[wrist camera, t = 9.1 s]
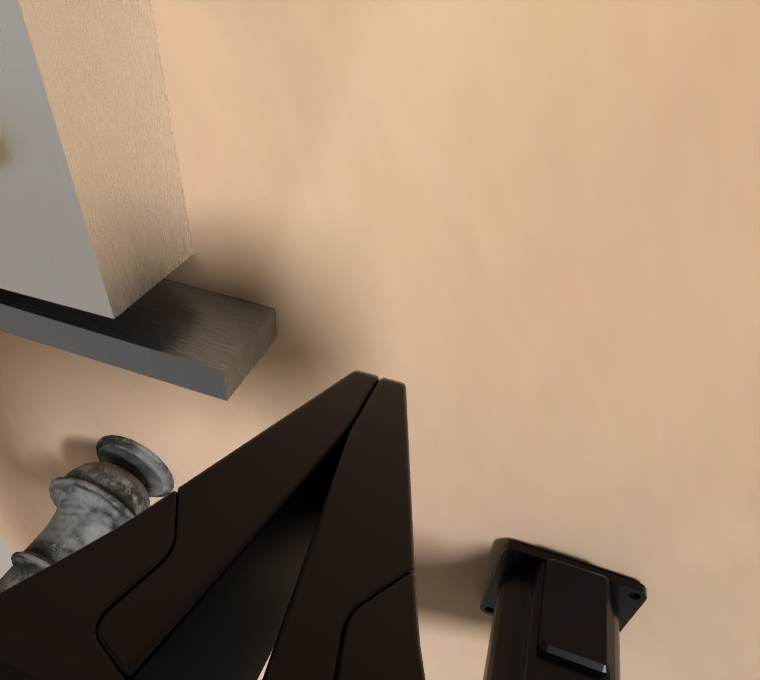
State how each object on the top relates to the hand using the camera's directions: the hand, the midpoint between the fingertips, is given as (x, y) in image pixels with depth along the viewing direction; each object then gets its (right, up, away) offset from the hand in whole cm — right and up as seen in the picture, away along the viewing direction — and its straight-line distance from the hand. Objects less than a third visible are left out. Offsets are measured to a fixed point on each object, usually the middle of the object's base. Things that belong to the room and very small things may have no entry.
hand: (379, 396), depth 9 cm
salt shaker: (-15, -7, +25) cm, 30 cm away
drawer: (-11, +9, +11) cm, 18 cm away
